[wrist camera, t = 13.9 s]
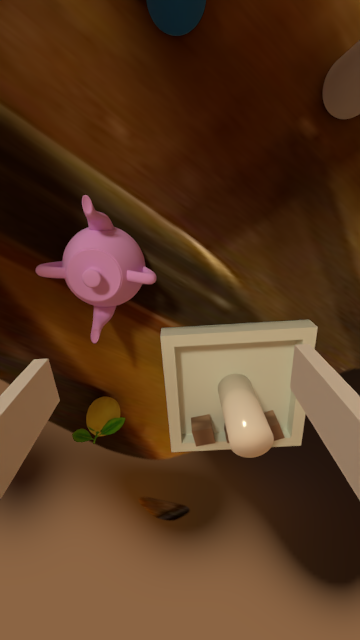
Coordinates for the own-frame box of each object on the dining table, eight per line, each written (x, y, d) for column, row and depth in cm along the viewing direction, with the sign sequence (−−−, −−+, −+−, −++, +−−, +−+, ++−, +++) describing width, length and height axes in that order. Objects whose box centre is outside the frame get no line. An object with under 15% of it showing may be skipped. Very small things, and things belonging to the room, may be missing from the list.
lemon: (85, 406, 51) (64, 450, 42) (96, 382, 49) (77, 423, 40) (118, 419, 52) (106, 464, 43) (131, 396, 50) (121, 439, 41)
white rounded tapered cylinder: (217, 402, 50) (229, 458, 39) (217, 374, 48) (229, 425, 37) (251, 400, 50) (272, 456, 39) (252, 372, 48) (275, 423, 37)
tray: (171, 439, 54) (171, 452, 52) (161, 328, 45) (160, 336, 42) (294, 433, 54) (301, 445, 51) (308, 319, 45) (317, 326, 42)
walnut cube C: (260, 429, 52) (265, 443, 49) (254, 415, 51) (259, 429, 48) (278, 423, 52) (284, 437, 49) (272, 409, 51) (279, 423, 47)
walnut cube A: (194, 431, 53) (196, 446, 49) (190, 417, 51) (191, 431, 48) (213, 428, 52) (215, 443, 49) (209, 414, 51) (211, 428, 48)
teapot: (109, 319, 45) (93, 345, 36) (44, 249, 40) (10, 261, 32) (167, 275, 42) (164, 292, 34) (104, 196, 38) (84, 193, 30)
